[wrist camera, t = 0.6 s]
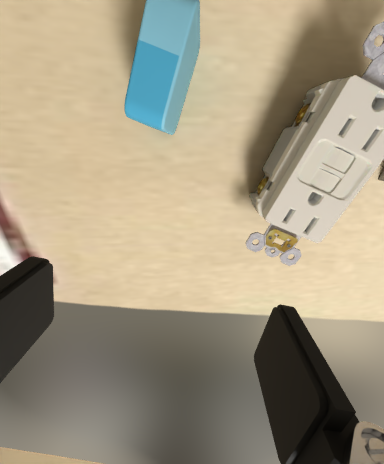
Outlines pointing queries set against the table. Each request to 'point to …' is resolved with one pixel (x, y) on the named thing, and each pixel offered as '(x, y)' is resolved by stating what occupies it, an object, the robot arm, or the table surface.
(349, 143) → the electrical outlet
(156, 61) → the data package
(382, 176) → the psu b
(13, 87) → the table surface
